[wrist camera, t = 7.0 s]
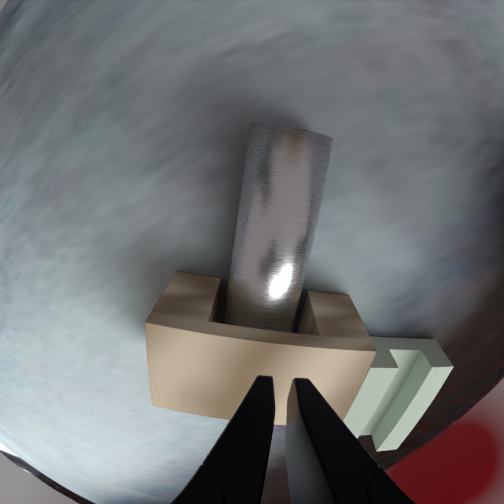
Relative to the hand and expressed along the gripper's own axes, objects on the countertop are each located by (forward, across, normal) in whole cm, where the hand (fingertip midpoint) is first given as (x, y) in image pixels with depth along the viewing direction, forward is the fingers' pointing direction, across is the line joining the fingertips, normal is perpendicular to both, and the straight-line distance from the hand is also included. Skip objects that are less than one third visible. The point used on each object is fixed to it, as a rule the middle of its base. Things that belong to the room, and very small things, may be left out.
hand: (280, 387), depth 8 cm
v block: (+11, -10, +11) cm, 18 cm away
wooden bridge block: (+11, 0, +5) cm, 12 cm away
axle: (+11, 0, +1) cm, 11 cm away
